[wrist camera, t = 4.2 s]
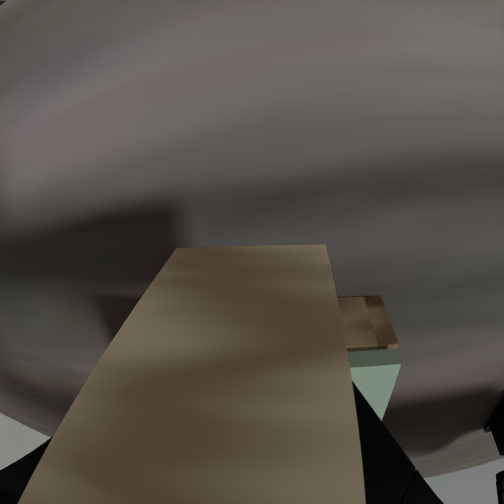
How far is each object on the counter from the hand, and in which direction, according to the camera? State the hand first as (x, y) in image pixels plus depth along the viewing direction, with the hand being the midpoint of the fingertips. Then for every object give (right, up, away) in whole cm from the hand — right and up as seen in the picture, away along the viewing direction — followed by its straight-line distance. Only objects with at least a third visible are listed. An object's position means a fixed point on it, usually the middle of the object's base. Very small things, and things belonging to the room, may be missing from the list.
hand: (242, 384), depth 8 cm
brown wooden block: (0, +1, +3) cm, 3 cm away
